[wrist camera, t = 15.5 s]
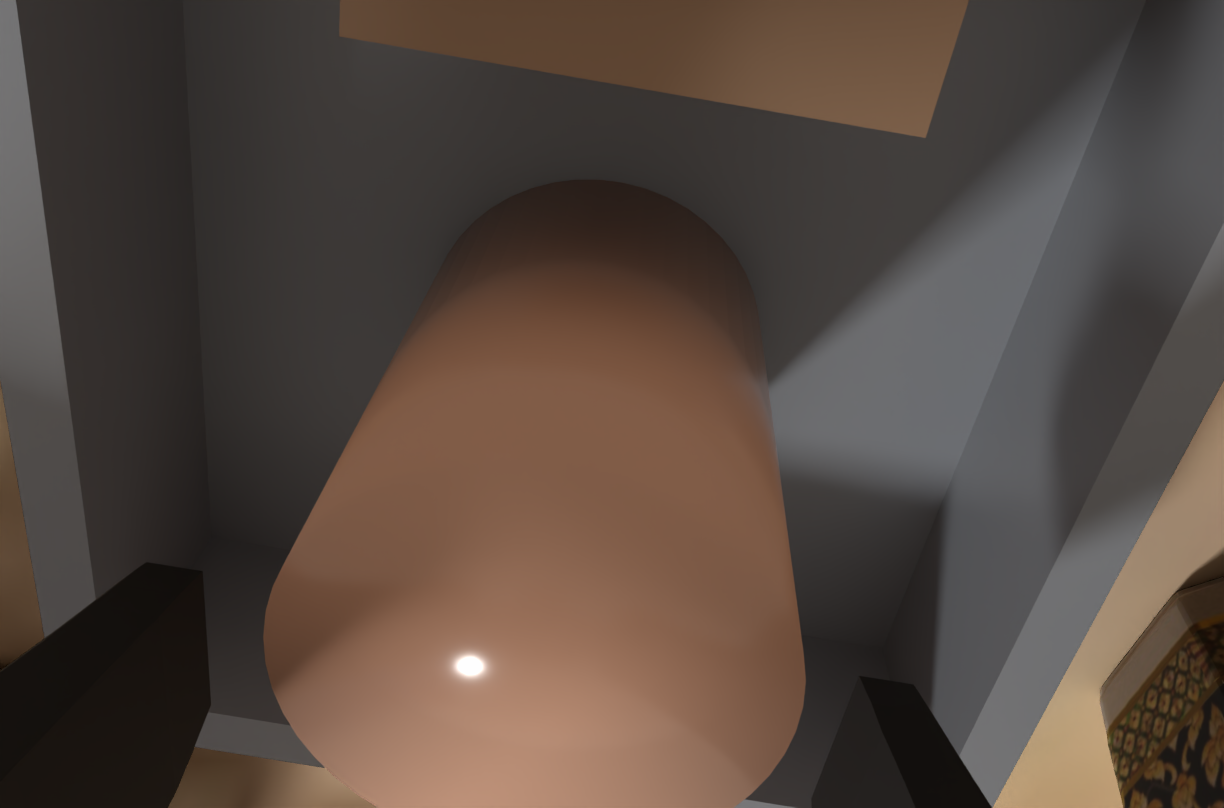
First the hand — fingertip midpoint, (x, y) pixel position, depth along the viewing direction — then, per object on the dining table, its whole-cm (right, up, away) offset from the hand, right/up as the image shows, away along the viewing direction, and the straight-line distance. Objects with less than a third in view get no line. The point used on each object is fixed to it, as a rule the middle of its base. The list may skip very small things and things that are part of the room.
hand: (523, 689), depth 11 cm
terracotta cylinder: (+1, +4, +4) cm, 6 cm away
